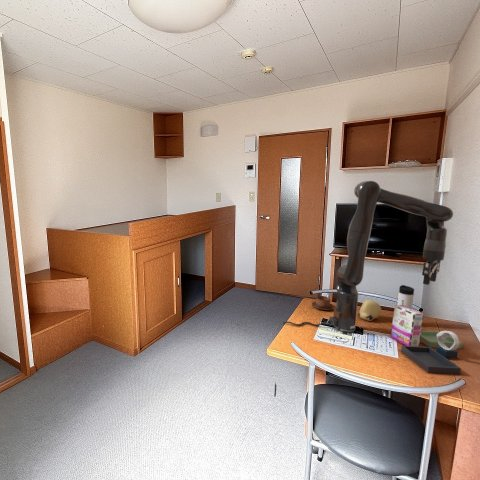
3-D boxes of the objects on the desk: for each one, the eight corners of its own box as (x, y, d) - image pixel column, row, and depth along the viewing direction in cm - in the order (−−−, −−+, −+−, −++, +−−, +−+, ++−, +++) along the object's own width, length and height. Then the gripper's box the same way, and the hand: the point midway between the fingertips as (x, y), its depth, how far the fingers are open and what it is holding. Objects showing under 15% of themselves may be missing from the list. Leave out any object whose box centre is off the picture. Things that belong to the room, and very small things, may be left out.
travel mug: (404, 320, 172) (408, 285, 169) (412, 325, 166) (417, 289, 163) (392, 319, 173) (396, 284, 170) (400, 325, 167) (404, 288, 163)
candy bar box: (419, 348, 143) (424, 313, 140) (409, 348, 143) (414, 314, 140) (399, 336, 154) (403, 304, 151) (389, 337, 154) (393, 305, 151)
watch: (443, 350, 141) (446, 327, 139) (461, 360, 133) (465, 335, 131) (431, 351, 140) (434, 327, 138) (448, 360, 132) (452, 336, 130)
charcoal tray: (427, 372, 124) (428, 366, 124) (400, 351, 140) (401, 345, 140) (460, 374, 123) (461, 368, 123) (428, 352, 139) (429, 346, 139)
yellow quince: (359, 321, 180) (351, 312, 175) (368, 304, 182) (361, 294, 177) (377, 327, 171) (369, 318, 166) (387, 309, 173) (379, 299, 169)
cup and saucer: (313, 302, 199) (314, 293, 198) (335, 306, 192) (336, 297, 191) (309, 309, 189) (310, 299, 188) (332, 313, 182) (333, 303, 181)
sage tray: (429, 347, 144) (429, 341, 143) (411, 335, 155) (412, 330, 155) (461, 348, 142) (462, 343, 142) (441, 336, 154) (442, 331, 153)
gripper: (429, 246, 153) (424, 278, 156) (418, 249, 145) (413, 283, 148) (449, 248, 147) (444, 282, 150) (439, 252, 139) (434, 287, 142)
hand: (429, 282), depth 149 cm, fingers open, 8 cm apart
